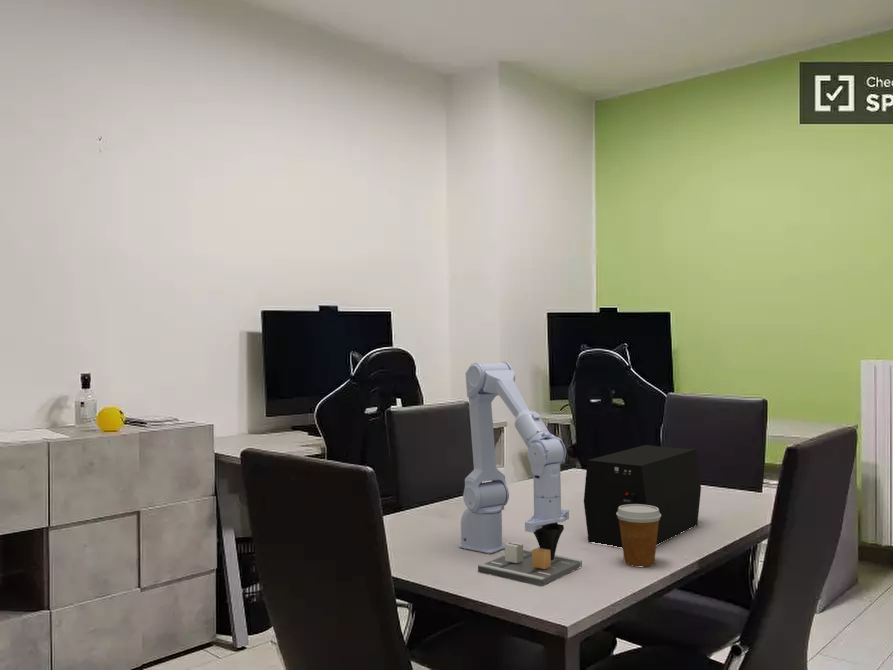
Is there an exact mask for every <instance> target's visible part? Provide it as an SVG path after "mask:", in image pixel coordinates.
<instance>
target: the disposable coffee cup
mask: <svg viewBox="0 0 893 670" xmlns="http://www.w3.org/2000/svg"><path fill="white" fill-rule="evenodd" d="M616 515H617V516H618V518H619V525H620V532H621V539H622V546H623V549H622V553H623V561H624V564H625V563H627V564H629V565H628V566H630V565H633V566H632V567H634V566H650V567H652V566H651V565H653V564H654V565H655V559H656V549H657V546H656V542H657V533H658V524H659V520H660V517H661V514H660V512H659V509H658V508H657V507H655V506H651V505H643V504H628V505H622V506H619V507H618V512H617V513H616ZM627 564H626V565H627ZM654 565H653V566H654Z"/></svg>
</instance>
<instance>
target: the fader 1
mask: <svg viewBox="0 0 893 670" xmlns="http://www.w3.org/2000/svg"><path fill="white" fill-rule="evenodd" d="M523 549H524V544H523V543H517V542H513V541H511V542H507V543H505V549H504V556H505V561H508V562H513V563H519V562H521V561H523Z"/></svg>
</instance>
